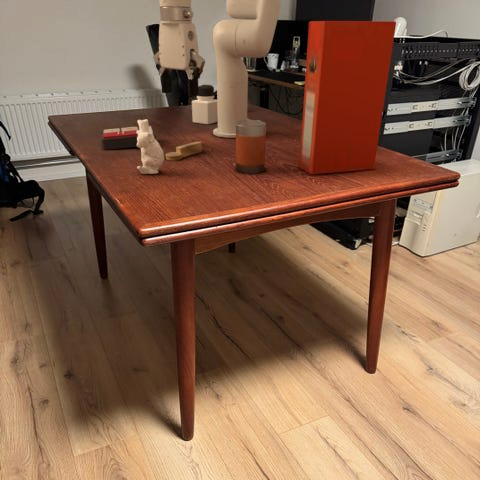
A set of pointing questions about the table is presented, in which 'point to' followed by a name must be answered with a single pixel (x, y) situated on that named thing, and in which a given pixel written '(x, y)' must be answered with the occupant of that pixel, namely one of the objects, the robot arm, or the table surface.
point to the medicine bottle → (205, 106)
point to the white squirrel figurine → (148, 149)
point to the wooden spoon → (184, 151)
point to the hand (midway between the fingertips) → (180, 94)
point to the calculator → (121, 137)
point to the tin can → (250, 146)
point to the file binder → (344, 94)
